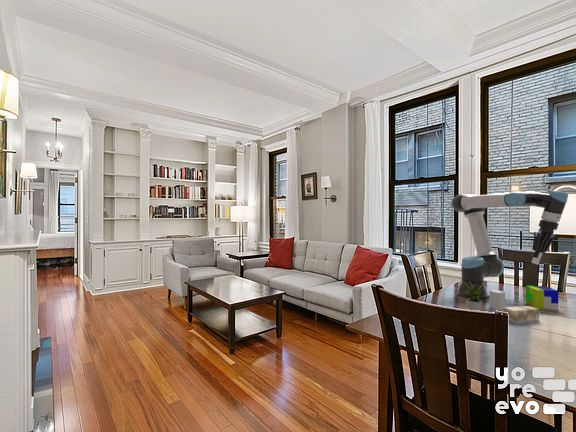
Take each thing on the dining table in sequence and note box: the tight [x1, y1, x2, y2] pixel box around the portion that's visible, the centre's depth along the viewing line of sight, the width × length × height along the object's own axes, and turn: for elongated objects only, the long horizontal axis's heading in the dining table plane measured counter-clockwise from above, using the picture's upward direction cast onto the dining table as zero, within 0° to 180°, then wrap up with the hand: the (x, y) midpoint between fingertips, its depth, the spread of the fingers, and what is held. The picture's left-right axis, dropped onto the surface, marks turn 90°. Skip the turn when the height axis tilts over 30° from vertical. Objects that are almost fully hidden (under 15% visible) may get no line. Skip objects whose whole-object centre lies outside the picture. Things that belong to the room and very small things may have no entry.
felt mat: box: [508, 320, 540, 325], centre depth 145 cm, size 12×9×1 cm
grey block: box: [488, 289, 506, 311], centre depth 162 cm, size 5×5×9 cm
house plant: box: [459, 281, 489, 312], centre depth 157 cm, size 14×14×16 cm
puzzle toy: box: [525, 285, 559, 311], centre depth 165 cm, size 10×10×10 cm
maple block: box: [503, 305, 540, 323], centre depth 145 cm, size 5×5×14 cm
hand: (534, 263), depth 162 cm, fingers closed
